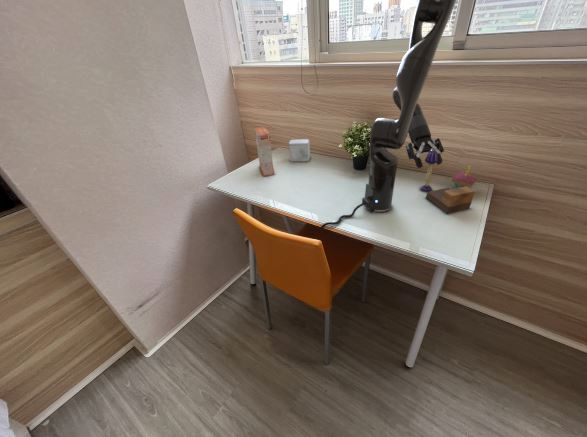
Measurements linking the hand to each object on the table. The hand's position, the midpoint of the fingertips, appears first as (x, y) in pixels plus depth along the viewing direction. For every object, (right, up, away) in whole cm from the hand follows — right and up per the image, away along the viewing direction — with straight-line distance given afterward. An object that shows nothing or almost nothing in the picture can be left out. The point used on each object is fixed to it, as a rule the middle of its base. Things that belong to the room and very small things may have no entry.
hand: (430, 165), depth 108 cm
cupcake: (+14, -9, +4) cm, 18 cm away
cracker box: (-68, +4, +35) cm, 77 cm away
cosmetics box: (-51, +12, +44) cm, 68 cm away
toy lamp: (+1, -9, +6) cm, 11 cm away
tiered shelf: (+4, -15, -4) cm, 16 cm away
